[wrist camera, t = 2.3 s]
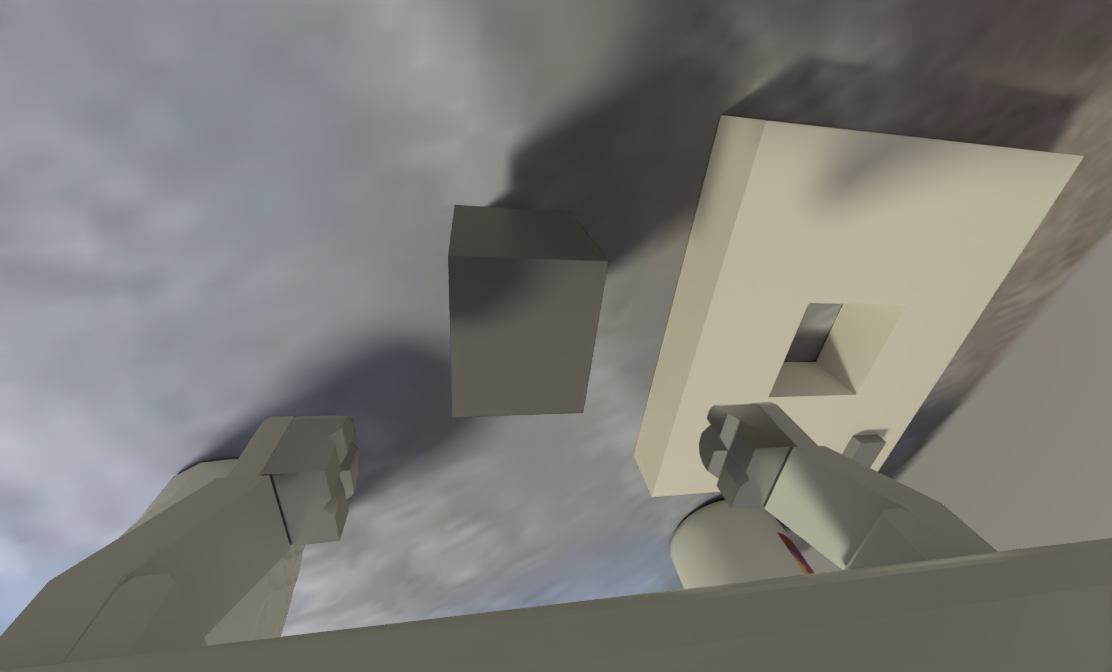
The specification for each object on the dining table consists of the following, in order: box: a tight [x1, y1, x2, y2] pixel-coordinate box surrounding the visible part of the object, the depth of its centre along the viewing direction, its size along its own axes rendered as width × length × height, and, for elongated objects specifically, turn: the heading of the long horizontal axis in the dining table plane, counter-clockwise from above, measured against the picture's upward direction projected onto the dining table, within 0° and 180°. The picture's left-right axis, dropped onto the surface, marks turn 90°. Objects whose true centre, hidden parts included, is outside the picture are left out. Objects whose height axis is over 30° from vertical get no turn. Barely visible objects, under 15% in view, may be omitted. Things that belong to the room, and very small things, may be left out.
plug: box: [448, 205, 608, 417], centre depth 15 cm, size 5×4×7 cm
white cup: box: [120, 459, 305, 645], centre depth 18 cm, size 8×8×10 cm
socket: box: [634, 115, 1084, 497], centre depth 21 cm, size 18×14×4 cm
